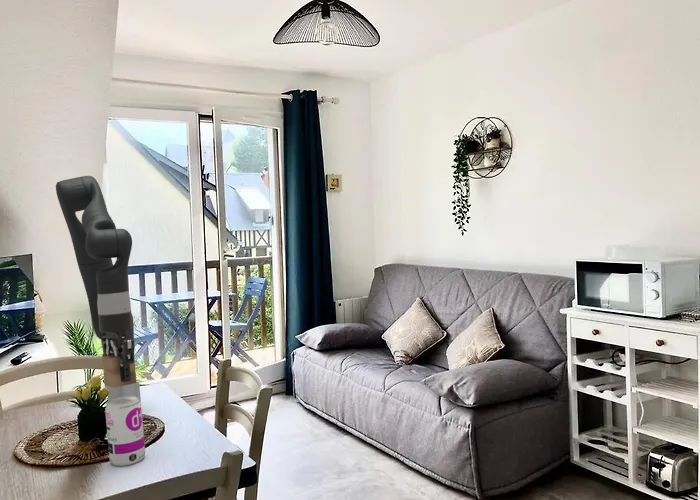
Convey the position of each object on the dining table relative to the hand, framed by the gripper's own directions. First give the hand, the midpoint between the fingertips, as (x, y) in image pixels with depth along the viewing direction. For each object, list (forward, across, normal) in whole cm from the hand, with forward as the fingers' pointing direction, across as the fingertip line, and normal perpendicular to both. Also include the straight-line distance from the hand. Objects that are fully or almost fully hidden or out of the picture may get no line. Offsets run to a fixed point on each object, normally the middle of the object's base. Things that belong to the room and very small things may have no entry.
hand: (120, 379), depth 146 cm
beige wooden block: (+1, 0, 0) cm, 1 cm away
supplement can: (+20, 0, 0) cm, 20 cm away
